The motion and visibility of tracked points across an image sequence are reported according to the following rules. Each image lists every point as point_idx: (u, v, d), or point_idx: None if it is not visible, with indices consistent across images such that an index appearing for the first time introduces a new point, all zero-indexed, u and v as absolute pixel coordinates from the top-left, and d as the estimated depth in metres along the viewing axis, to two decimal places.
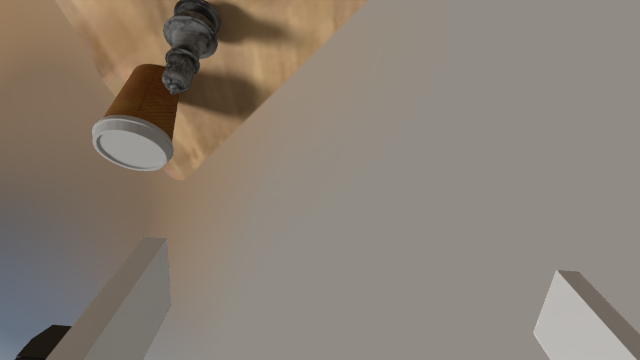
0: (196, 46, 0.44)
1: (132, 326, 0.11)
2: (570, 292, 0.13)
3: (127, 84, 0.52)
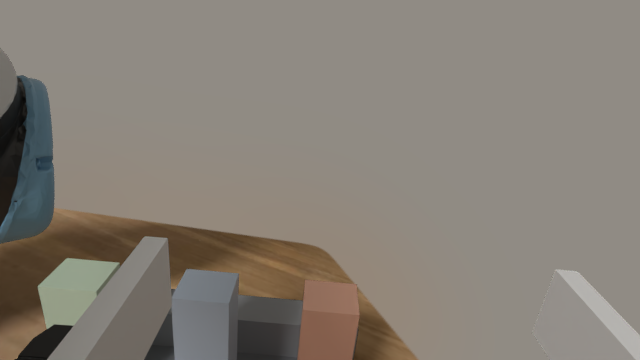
0: None
1: (133, 326, 0.11)
2: (569, 292, 0.13)
3: None
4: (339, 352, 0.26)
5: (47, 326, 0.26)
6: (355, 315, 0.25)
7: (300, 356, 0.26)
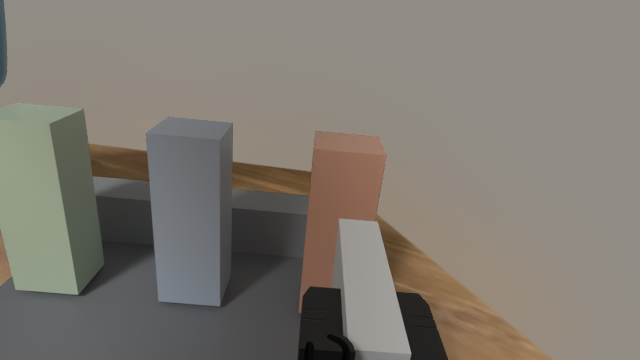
0: None
1: None
2: (359, 236, 0.15)
3: None
4: (360, 211, 0.21)
5: None
6: (381, 156, 0.20)
7: (310, 218, 0.21)
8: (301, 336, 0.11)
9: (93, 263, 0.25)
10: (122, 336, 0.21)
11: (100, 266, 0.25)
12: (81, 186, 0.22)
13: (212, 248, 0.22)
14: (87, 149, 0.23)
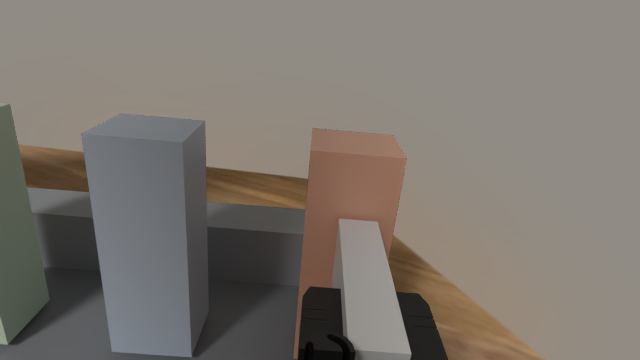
0: None
1: None
2: (359, 236, 0.15)
3: None
4: None
5: None
6: (399, 159, 0.15)
7: (306, 240, 0.16)
8: (301, 336, 0.11)
9: (32, 301, 0.19)
10: None
11: (43, 303, 0.20)
12: (9, 204, 0.17)
13: (178, 285, 0.17)
14: (17, 156, 0.18)
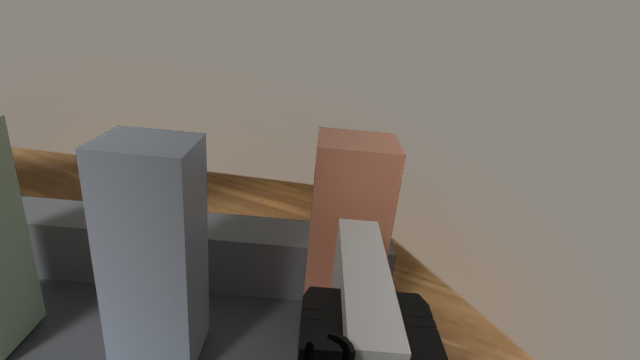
0: None
1: None
2: (359, 236, 0.15)
3: None
4: None
5: None
6: (399, 155, 0.16)
7: (312, 231, 0.17)
8: (301, 336, 0.11)
9: (27, 317, 0.19)
10: None
11: (39, 319, 0.20)
12: (2, 219, 0.17)
13: (177, 305, 0.16)
14: (12, 169, 0.17)
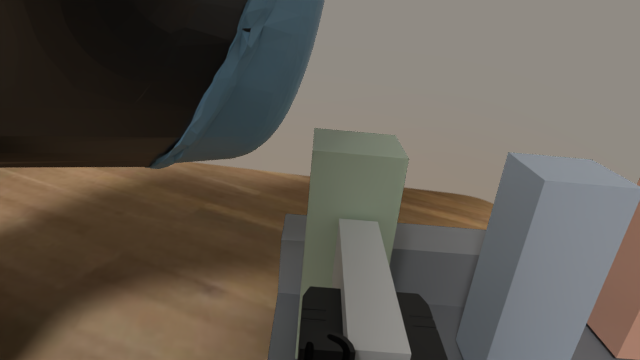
0: None
1: None
2: (359, 236, 0.15)
3: None
4: None
5: (308, 226, 0.16)
6: None
7: None
8: (301, 336, 0.11)
9: None
10: None
11: None
12: None
13: (574, 327, 0.16)
14: None
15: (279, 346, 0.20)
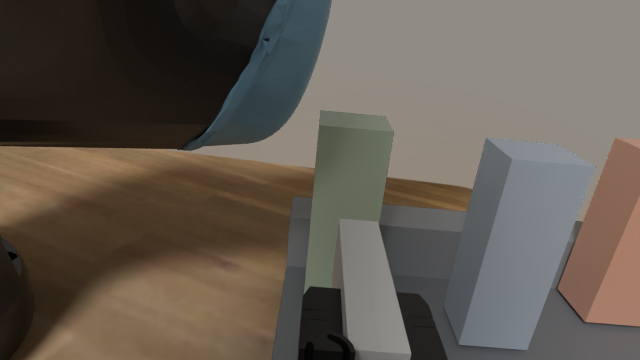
0: None
1: None
2: (359, 236, 0.15)
3: None
4: None
5: (315, 186, 0.20)
6: None
7: (629, 226, 0.21)
8: (301, 336, 0.11)
9: None
10: None
11: None
12: None
13: (541, 287, 0.19)
14: None
15: (288, 308, 0.22)
